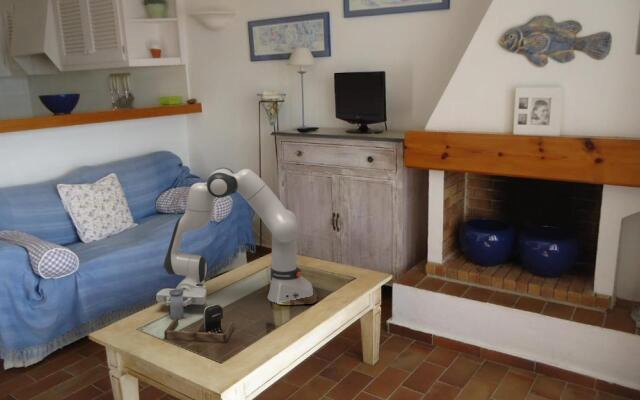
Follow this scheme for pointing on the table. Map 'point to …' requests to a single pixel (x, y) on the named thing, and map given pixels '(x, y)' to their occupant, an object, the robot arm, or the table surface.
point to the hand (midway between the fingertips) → (176, 304)
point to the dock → (197, 333)
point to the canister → (176, 303)
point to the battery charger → (213, 318)
